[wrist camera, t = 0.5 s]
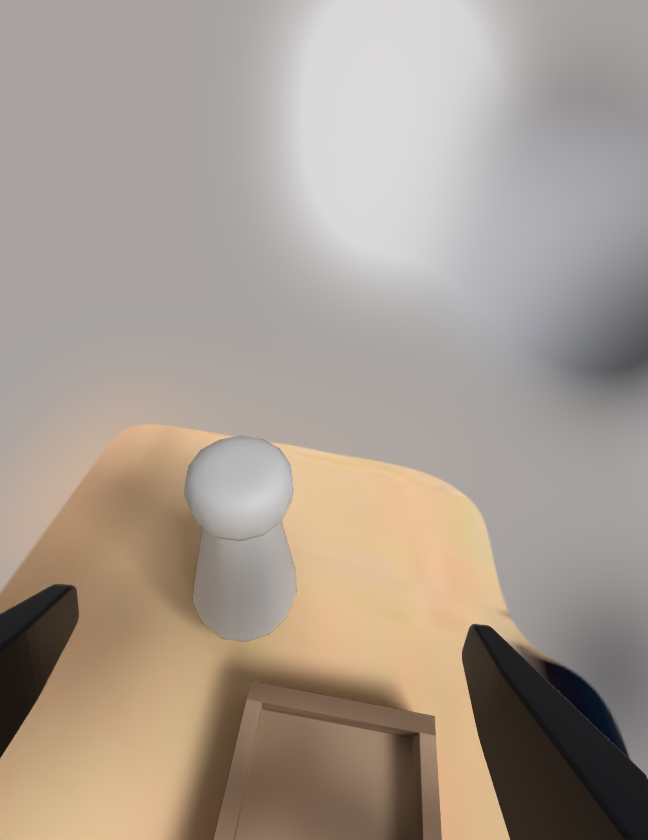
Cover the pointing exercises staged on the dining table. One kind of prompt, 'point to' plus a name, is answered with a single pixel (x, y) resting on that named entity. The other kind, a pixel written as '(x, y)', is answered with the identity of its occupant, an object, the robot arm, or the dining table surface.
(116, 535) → the dining table surface
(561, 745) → the robot arm
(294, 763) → the walnut socket
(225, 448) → the salt shaker
